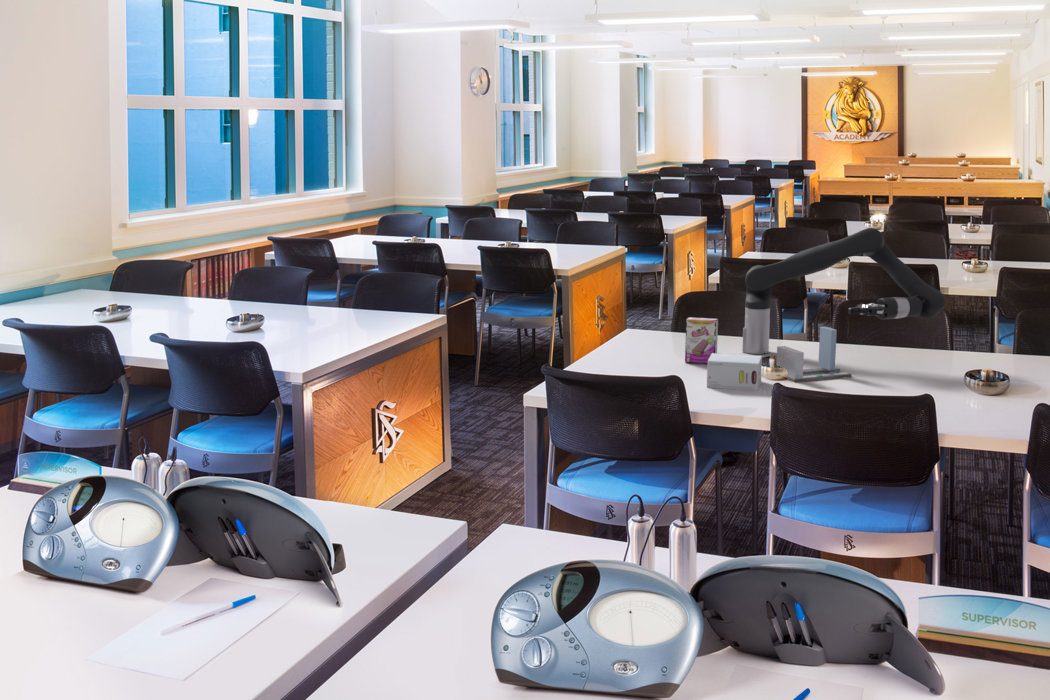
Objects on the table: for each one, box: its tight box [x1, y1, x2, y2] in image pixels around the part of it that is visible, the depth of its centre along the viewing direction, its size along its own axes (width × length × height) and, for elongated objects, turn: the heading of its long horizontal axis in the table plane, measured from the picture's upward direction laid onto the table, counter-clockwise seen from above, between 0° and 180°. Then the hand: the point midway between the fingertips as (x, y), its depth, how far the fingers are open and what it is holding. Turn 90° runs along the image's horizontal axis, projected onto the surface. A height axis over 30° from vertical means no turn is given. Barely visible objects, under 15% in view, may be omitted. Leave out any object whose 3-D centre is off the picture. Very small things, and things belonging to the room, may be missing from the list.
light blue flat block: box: [818, 326, 839, 373], centre depth 350 cm, size 2×10×14 cm, turn 17°
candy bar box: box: [684, 316, 719, 365], centre depth 373 cm, size 11×5×16 cm, turn 71°
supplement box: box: [706, 352, 763, 391], centre depth 340 cm, size 17×13×9 cm
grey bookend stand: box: [776, 345, 853, 383], centre depth 350 cm, size 22×12×10 cm, turn 107°
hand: (849, 311), depth 352 cm, fingers closed
